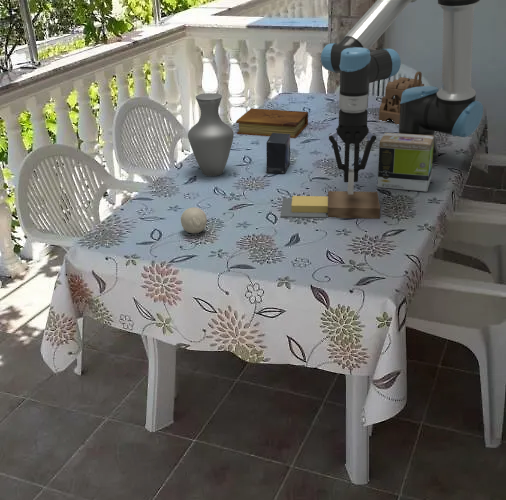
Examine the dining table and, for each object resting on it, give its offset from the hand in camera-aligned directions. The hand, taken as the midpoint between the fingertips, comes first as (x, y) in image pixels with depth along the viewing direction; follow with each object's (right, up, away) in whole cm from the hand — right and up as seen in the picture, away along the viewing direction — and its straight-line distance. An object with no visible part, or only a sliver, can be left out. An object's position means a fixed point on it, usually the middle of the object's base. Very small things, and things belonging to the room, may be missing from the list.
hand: (350, 192), depth 192 cm
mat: (-13, -4, +3) cm, 14 cm away
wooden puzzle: (+33, +37, +84) cm, 97 cm away
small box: (-19, +10, +33) cm, 40 cm away
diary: (-19, +30, +73) cm, 81 cm away
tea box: (+19, +4, +18) cm, 26 cm away
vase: (-40, +9, +31) cm, 51 cm away
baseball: (-42, -12, -9) cm, 45 cm away
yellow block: (-11, -4, +3) cm, 12 cm away
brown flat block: (+1, -5, +2) cm, 5 cm away
